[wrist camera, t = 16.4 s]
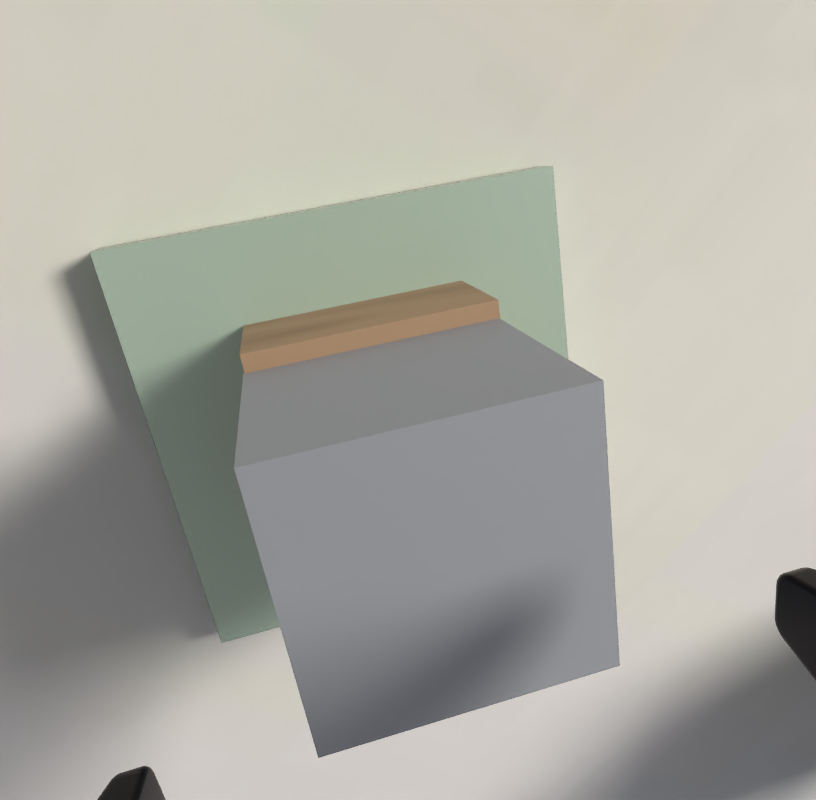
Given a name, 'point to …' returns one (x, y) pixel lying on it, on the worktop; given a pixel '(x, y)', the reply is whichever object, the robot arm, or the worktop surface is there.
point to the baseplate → (295, 294)
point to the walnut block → (363, 324)
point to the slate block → (430, 525)
